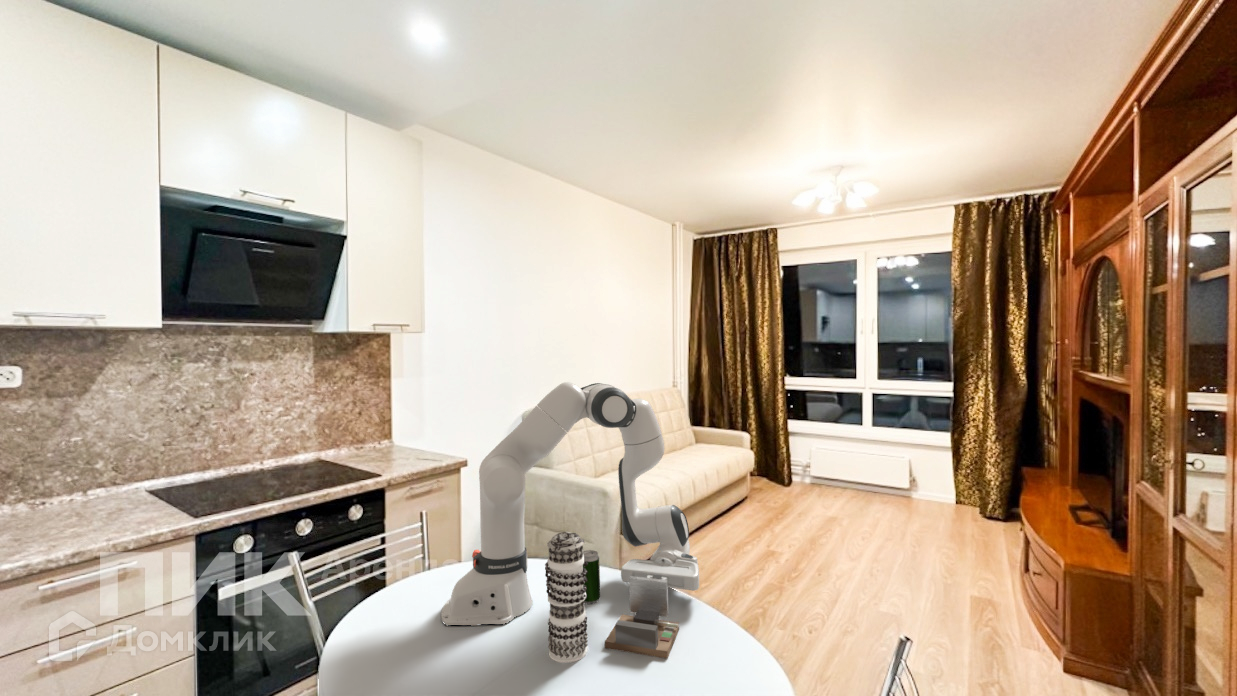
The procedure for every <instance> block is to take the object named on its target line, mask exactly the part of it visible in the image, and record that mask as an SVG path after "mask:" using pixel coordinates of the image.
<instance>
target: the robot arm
mask: <svg viewBox="0 0 1237 696" xmlns="http://www.w3.org/2000/svg"><path fill="white" fill-rule="evenodd" d="M585 418H586V419H587V418H588V419H589V420H590V421H591V422H593V423H594V424H596V425H599V426H601V427H603V428H608V429H609V428H610V429H614V428H618V429H619V431H620V433H621V437H622V441H623V446H624V454H623V458H620V460H619V463H618V469H617V470H618V472H617V474H618V486H619V495H620V496H619V498H620V507H621V530H622V536H623V538H624V540H625V541H626V542H627V543H629V544H630V545H632V546H633V547H635V548H636V547H640V546H645V545H648V544H657V543H659V544H658V547H657V548H656V549H655V551H654V552H653V554H652V555H651V557H649V558H650V559H649V560H648V559H639V558H638V559H637V558H633V559H629V560H628V561H627V562H625V564H623V565H622V566H621V568H620V579H621V580H622V582H623V583H629V578H630V576H635V577H644V578H652V579H661V580H668V589H676V590H677V589H679V590H685V591H692V592H693V591H698V590H699V589H700V568H699V561H698V558H697V556H694V555H691V554H690V549H691V546H690V545H691V544H690V541H689V537H690V530H689V529H690V528H689V523H688V519H687V517H686V514H685V513H684V512H683V510H681V509H680V508H679V507H678V506H676V505H675V504H667V505H661V506H657V507H656V506H655V507H647V508H640V507H639V506H638V502H637V493H636V480H637V479H638V478H639V477H640V476H642V475H643V474H645V473H647V472H648V471H650V470H652V469H653V468H654V467H656V466H657V465H658V463H660V462H661V460H662V458H663V457H664V454H665V442H664V437H663V434H662V431H661V427H660V424H659V421H658V419H657V416H656V414H655V411H654V409H653V407H652V405H651V404H650V402H649V401H648V400H645V399H643V398H630V396H629V395H627V394H626V392H624V391H623V390H621V389H620V388H617V387H615V386H614V385H612V384H607V383H601V382H597V383H596V382H595V383H591V384H589V385H587V386H586V385H585V386H583V387H579V385H576V384H575V383H572V382H568V381H567V382H566V381H565V382H562V383H560V384H559V385H557V386H555V387H554V389H552V390H551V391H550V392H548V393H547V394H546V395H545V396H543V398H542V399H541V400H540V401H539V403H537V405H535V406H534V407H533V409H532V410H531V411H530V412H529V413H528V414H527V415H526V416H525V418H523V420H522V421H521V422H520V423H519V424H518V425H517V426H516V427H515V428H514V429H513V430H512V431H511V432H510V433H509V434H508V435H507V436H506V437H505V438H503V439H502V440H501V441H500V442H499V443H498V444H497V445H496V446H494V448H493V449H492V450H491V451H490V452H489V453H488V454H487V455H486V456H485V457H484V459H482V461H481V462H480V465H479V469H478V470H479V471H478V475H479V477H478V478H479V479H478V480H479V500H480V502H479V504H480V505H479V511H480V519H479V520H480V522H479V523H480V550H479V549H474V550H473V551H472V554H471V555H472V556H471V557H472V568H471V569H470V570H469V571H468V572H467V573H466V574H465V575H463V576H462V577H460V579H458V581H456V583H455V585H454V587H453V589H452V592H451V596H450V598H449V599H448V600H447V601H446V602H445V603H444V605H443V607H442V609H441V613H440V615H441V616H440V619H441V618H442V620H441V622H442V621H443V622H444V623H445V624H446V625H471V626H478V625H477V624H480V625H479V626H482V625H481V624H503V625H506V624H505V623H507V624H508V622H509V621H510V622H511V621H512V620H514V619H515V618H516V616H517V617H519V616H521V615H523V614H525V613H526V612H527V611H529V610H530V609H531V608H532V606H533V599H532V595H531V591H530V588H529V587H530V586H529V583H528V582H529V581H528V576H527V572H528V552H527V547H526V546H525V542H526V541H525V537H526V536H525V535H526V534H525V510H526V474H527V473H528V472H529V471H530V470H531V469H532V468H533V467H535V466H536V465H537V464H538V463H540V462H541V461H542V460H543V459H544V458H546V457H547V456H548V455H550V454H551V452H552V451H553V450H554V449H555V448H556V446H558V445H559V443H560V442H561V441H562V440H563V439H564V437H565V436H567V434H568V433H569V431H571V429H572V428H573V427H574V425H575V424H576V423H578V422H579V421H580V420H583V419H585ZM524 612H525V613H524ZM514 617H515V618H514ZM510 622H509V623H510Z"/></svg>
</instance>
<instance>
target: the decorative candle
mask: <svg viewBox="0 0 1237 696" xmlns="http://www.w3.org/2000/svg"><path fill="white" fill-rule="evenodd" d="M546 544H547V547H548V557H547V562H546V563H544V566H545V568H544V569H545V577H546V580H545V582H546V584H545V585H546V593H547V601H548V602H549V607H550V608H549V612H548V613H549V618H548V620H547V625H548V638H547V640H548V645H547V646H548V647H547V648H548V650H549V652H548V653H549V654H548V655H549V657H550V658H551V659H552V660H553V661H554V662H555V661H556V662H557V663H563V664H568V663H575V662H577V661H580V660H581V659H583V658H584V657H586V656H587V653H588V651H589V649H588V642H589V641H588V632H587V631H588V617H587V616H586V613H587V612H586V607H585V606H586V605H585V603H584V600H585V598H586V592H585V591H587V587H586V586H585V585H584V583H585V582H587V577H585V575H586V574H587V570H586V569H584V568H583V564H584V567H585V566H586V565H587V561H586V560H585V559H584V554H583V551H584V547H583V546H584V544H585V540H584V539H583V538H581V537H580V535H579V534H577V533H576V532H572V531H570V532H569V531H564V532H560V533H556V534H555V535H553V536H552V537H551V539H550V540H549V541H548V542H547V543H546ZM583 579H584V580H583Z"/></svg>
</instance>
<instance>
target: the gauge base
mask: <svg viewBox="0 0 1237 696" xmlns="http://www.w3.org/2000/svg"><path fill="white" fill-rule="evenodd" d="M634 616H635V615H628V614H621V615H620V617H619V619H618V620H617V621H616V623H615V624H614V626H613V628H612V630H611V631H610V632H609V634H608V636H607V637H606V639H605V641H604V648H605V649H608V650H614V651H619V652H620V651H621V652H626V653H631V654H638V655H643V656H651V657H656V658H661V659H666V660H667V659H669V656H670V653H671V651H672V649H673V646H674V643H675V640H676V639H677V637H678V634H679V632H680V631H679V630H680V626H679V627H678V628H674V627H667V626H661V625H657V626H656V625H649V624H642V623H635V622H633V618H634ZM659 621H661V622H668V623H675V624H679V625H680V622H678V621H671V620H665V619H663V620H662V619H659Z"/></svg>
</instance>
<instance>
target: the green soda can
mask: <svg viewBox="0 0 1237 696" xmlns="http://www.w3.org/2000/svg"><path fill="white" fill-rule="evenodd" d="M583 554H584V559H585V560H586V561H587V565H586V566H585V567H584V564H583V568H584V569H586V570H587V574H586V575H585V577H587V582H585V583H584V585H585V586H586V587H587V591H585V592H586V598H585V600H584V603H587V604H586V605H592V604H591V603H594V604H596V603H598V602H599V601H600V599H601V576H600V575H601V574H600V573H601V572H600V555H599V552H598V551H596V550H593V549H589V550H588V549H587V550H583ZM583 580H584V579H583ZM597 601H598V602H597Z"/></svg>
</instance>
